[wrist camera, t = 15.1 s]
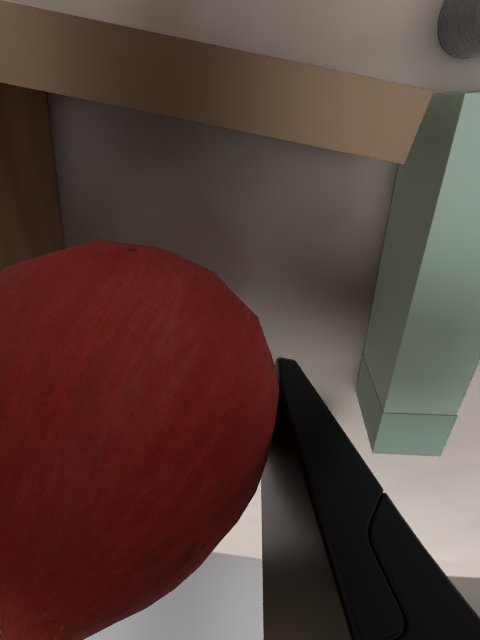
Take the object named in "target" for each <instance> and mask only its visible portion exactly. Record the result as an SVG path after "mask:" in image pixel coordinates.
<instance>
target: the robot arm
mask: <svg viewBox="0 0 480 640" xmlns="http://www.w3.org/2000/svg"><path fill="white" fill-rule="evenodd" d="M274 367H275V372H276V376H277V381H278V385H279V397H278V405H277V413H276V421H275V427H274V432H273V436H272V441H271V446H270V450H269V455H268V460H267V463H266V465H265V468H264V471H263V474H262V476H261V501H262V564H263V625H264V626H263V627H264V640H480V617H479V616H478V615H477V614H476V612H475V611H474V610H473V609H472V607H471V606H470V605H469V604H468V602H467V601H466V600H465V599H464V597H463V596H462V595H461V594H460V592H459V591H458V590H457V589H456V587H455V586H454V585H453V584H452V582H451V581H450V580H449V579H448V577H447V576H446V575H445V573H444V572H443V571H442V569H441V568H440V567H439V566H438V564H437V563H436V562H435V560H434V559H433V558H432V556H431V555H430V554H429V553H428V551H427V550H426V549H425V547H424V546H423V545H422V543H421V542H420V541H419V539H418V538H417V536H416V535H415V534H414V532H413V531H412V529H411V528H410V527H409V525H408V524H407V522H406V521H405V520H404V518H403V517H402V515H401V514H400V513H399V511H398V510H397V508H396V507H395V505H394V504H393V502H392V501H391V499H390V498H389V496H388V495H387V494H386V493H383V488H382V487H381V485H380V484H379V482H378V481H377V479H376V478H375V476H374V475H373V473H372V472H371V470H370V469H369V467H368V466H367V465H366V463H365V462H364V460H363V459H362V457H361V456H360V454H359V453H358V451H357V450H356V448H355V447H354V446H353V444H352V443H351V441H350V440H349V438H348V437H347V435H346V434H345V432H344V431H343V429H342V428H341V426H340V425H339V424H338V422H337V421H336V419H335V418H334V416H333V415H332V413H331V412H330V410H329V409H328V407H327V406H326V405H325V403H324V402H323V400H322V399H321V397H320V396H319V394H318V393H317V391H316V390H315V388H314V387H313V386H312V384H311V383H310V381H309V380H308V378H307V377H306V375H305V374H304V372H303V371H302V369H301V368H300V366H299V365H298V364H297V362H296V361H295V360H291V359H286V358H281V357H279V358H277V360H276V362H275V365H274ZM382 493H383V494H382Z"/></svg>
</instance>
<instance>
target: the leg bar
mask: <svg viewBox="0 0 480 640" xmlns="http://www.w3.org/2000/svg"><path fill="white" fill-rule="evenodd" d="M479 360H480V91H474V92H456V93H438V94H432V96H431V99H430V101H429V104H428V106H427V109H426V111H425V114H424V116H423V119H422V121H421V124H420V126H419V129H418V131H417V133H416V136H415V138H414V141H413V143H412V146H411V148H410V151H409V153H408V156H407V158H406V161H405V163H404V165H403V164H399V165H398V170H397V175H396V181H395V186H394V192H393V197H392V202H391V208H390V213H389V218H388V224H387V229H386V234H385V240H384V245H383V250H382V256H381V261H380V267H379V272H378V277H377V283H376V288H375V293H374V299H373V304H372V309H371V315H370V320H369V326H368V331H367V336H366V342H365V347H364V352H363V355H362V360H361V366H360V371H359V376H358V382H357V387H356V394H357V397H358V401H359V405H360V408H361V412H362V416H363V419H364V423H365V427H366V430H367V434H368V438H369V441H370V445H371V449H372V452H373V453H380V454H402V455H424V456H441V453H442V451H443V449H444V446H445V444H446V442H447V439H448V437H449V435H450V432H451V430H452V428H453V425H454V423H455V421H456V418H457V412H458V410H459V407H460V405H461V403H462V400H463V398H464V396H465V393H466V391H467V388H468V386H469V384H470V381H471V379H472V377H473V374H474V372H475V370H476V367H477V365H478V363H479Z"/></svg>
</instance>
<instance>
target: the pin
mask: <svg viewBox="0 0 480 640" xmlns="http://www.w3.org/2000/svg"><path fill="white" fill-rule="evenodd" d="M438 34H439V39H440V42H441V44H442V46H443V48H444V49H445V50H446V52H448V53H449V54H450V55H452V56H454V57H457V58H469V57H474V56H478V55H480V0H445V2H444V4H443V7H442V9H441V13H440V17H439V23H438Z"/></svg>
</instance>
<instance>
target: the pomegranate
mask: <svg viewBox="0 0 480 640" xmlns="http://www.w3.org/2000/svg"><path fill="white" fill-rule="evenodd" d="M278 397H279V385H278V381H277V376H276V372H275V367H274V363H273V359H272V356H271V353H270V350H269V347H268V345H267V342H266V339H265V336H264V333H263V331H262V328H261V325H260V322H259V319H258V317H257V316H256V315H255V314H254V313H253V312H252V311H251V310H250V309H249V308H248V307H247V306H246V305H245V304H244V303H243V302H242V301H241V300H240V299H239V298H238V297H237V296H236V295H235V294H234V293H233V292H232V291H231V290H230V289H229V288H228V287H227V286H226V285H225V284H224V283H223V282H222V280H221V279H220V278H219V277H218V276H217V275H216V274H215V273H214V272H212V271H210V270H208V269H206V268H203V267H201V266H199V265H197V264H195V263H193V262H191V261H188V260H186V259H184V258H182V257H180V256H178V255H175V254H173V253H171V252H168V251H166V250H163V249H160V248H155V247H148V246H141V245H134V244H127V243H120V242H113V241H106V240H99V239H97V240H94V241H90V242H87V243H83V244H80V245H77V246H73V247H70V248H66V249H63V250H60V251H56V252H53V253H49V254H46V255H43V256H39V257H36V258H32V259H29V260H26V261H22V262H19V263H16V264H12V265H9V266H7V267H5V268H4V269H3V270H2V271H0V640H83V639H85V638H87V637H89V636H91V635H93V634H95V633H97V632H99V631H101V630H103V629H104V628H107V627H109V626H110V625H112V624H114V623H116V622H118V621H121V620H123V619H125V618H127V617H129V616H131V615H133V614H135V613H137V612H140V611H142V610H144V609H145V608H147V607H148V606H150V605H152V604H153V603H154V602H156V601H157V600H159V599H160V598H162V597H163V596H165V595H166V594H168V593H169V592H171V591H172V590H174V589H175V588H176V587H177V586H179V585H180V584H181V583H182V582H183V581H184V580H185V579H186V578H187V577H189V575H191V574H192V573H193V572H194V571H195V570H196V569H197V568H198V567H200V565H201V564H202V563H203V562H204V560H205V559H206V558H207V557H208V556H209V555H210V553H211V552H212V551H213V550H214V549H215V547H216V546H217V545H218V544H219V542H220V541H221V540H222V539H223V538H224V537H225V536H226V534H227V533H228V532H229V531H230V530H231V529H232V528H233V526H234V525H235V524H236V523H237V522H238V520H239V519H240V517H241V515H242V514H243V512H244V511H245V509H246V507H247V506H248V504H249V502H250V501H251V499H252V497H253V496H254V494H255V493H256V490H257V487H258V485H259V482H260V479H261V476H262V474H263V471H264V468H265V465H266V463H267V460H268V455H269V450H270V446H271V441H272V436H273V432H274V427H275V421H276V413H277V405H278Z"/></svg>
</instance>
